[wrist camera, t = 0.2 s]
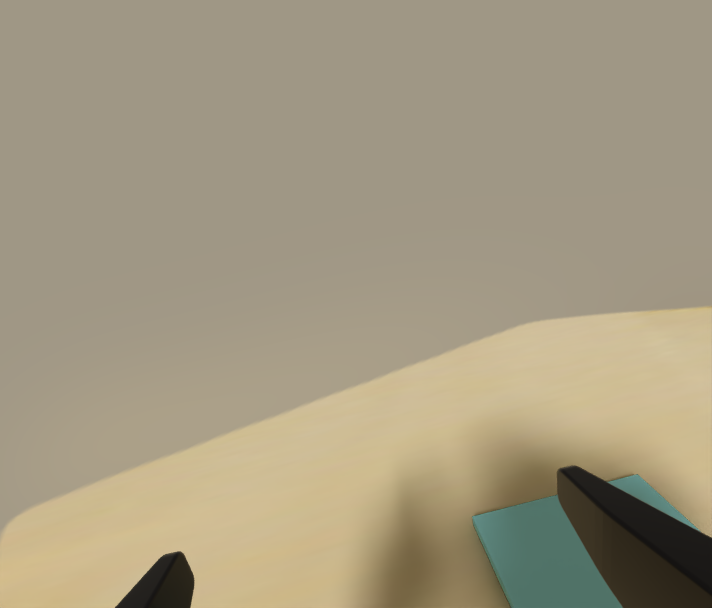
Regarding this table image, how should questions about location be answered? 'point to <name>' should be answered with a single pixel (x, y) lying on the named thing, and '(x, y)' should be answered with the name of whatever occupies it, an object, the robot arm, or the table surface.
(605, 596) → the mat
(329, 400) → the table surface
